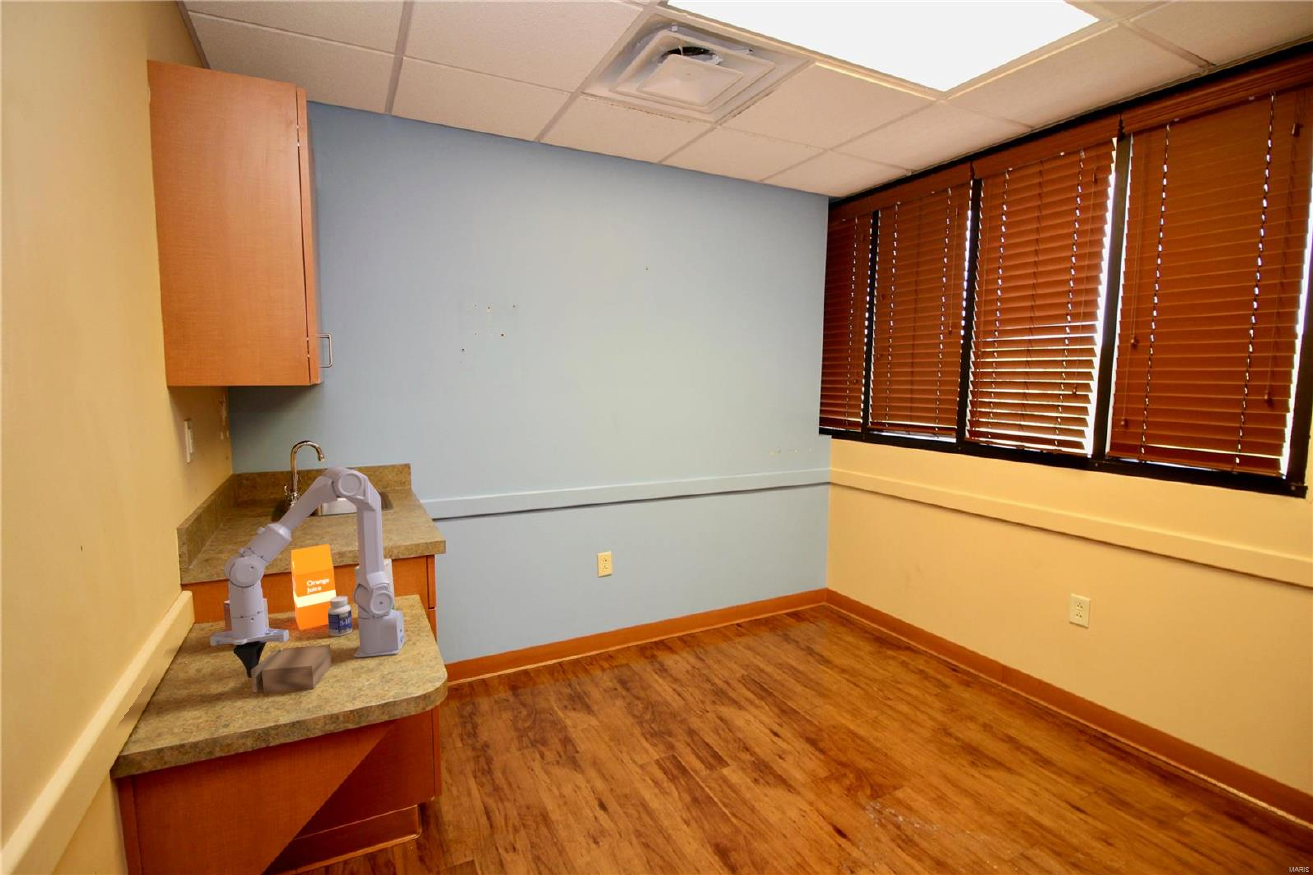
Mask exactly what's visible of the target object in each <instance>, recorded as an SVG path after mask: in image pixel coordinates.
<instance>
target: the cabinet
mask: <svg viewBox="0 0 1313 875" xmlns="http://www.w3.org/2000/svg"><path fill="white" fill-rule="evenodd" d="M280 650H281V651H280V652H279V653H278V654H277V655H276V656H275V657H274V658H273V659H272V660H271V661H270V662H269V663H268V664H267V665H266V666H265V667H264V668H263V669H262V678H263V687H262V689H263V694H271V693H283V692H285V693H286V692H294V691H306V690H315V688H316V687H317V685H318V684H319V682H320V681H321V680H322V679H323V678H324V677H325V675H327V673H328V671H329V670H330V669H331V668H332V656H331V645H330V644H324V645H323V644H320V645H309V646H308V645H307V646H299V647H298V646H297V647H286V648H282V649H280Z"/></svg>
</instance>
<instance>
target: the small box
mask: <svg viewBox="0 0 1313 875" xmlns="http://www.w3.org/2000/svg"><path fill="white" fill-rule="evenodd" d="M267 600H268V598H264V597H263V604H264V615H265V626H266V628H270V625H269V624H270V623H269V611H268V601H267ZM222 604H223V605H222V606H223V616H224V626H225V627H224V628H225V632H228V631H232V623H231V613H230V603H229V599H228V600H225V601H223V603H222ZM230 644H231V645H234V643H230Z"/></svg>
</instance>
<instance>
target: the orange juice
mask: <svg viewBox="0 0 1313 875" xmlns="http://www.w3.org/2000/svg"><path fill="white" fill-rule="evenodd" d="M330 548H331V547H330V544H321V545H315V546H310V547H309V546H308V547H304V548H298V549H292V550H291V567H290V568H291V578H292V591H293V601H294V611H295V612H294V613H295V622H296V623H297V626H298V629H299V630H300V631H301V630H306V629H311V628H315V627H319V626H323V625H327V624H328V609H329V608H330V607H331V606H330V599H331V598H333V597H336V596H337V594H336V584H335V572H334V565H333V560H332V555H331V549H330Z"/></svg>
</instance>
